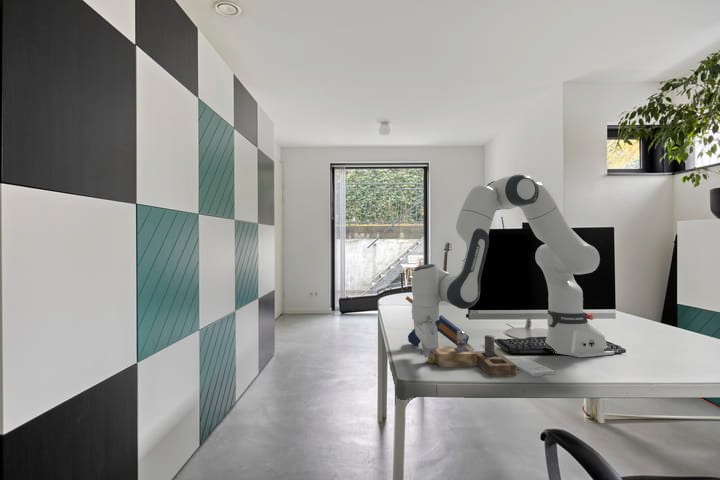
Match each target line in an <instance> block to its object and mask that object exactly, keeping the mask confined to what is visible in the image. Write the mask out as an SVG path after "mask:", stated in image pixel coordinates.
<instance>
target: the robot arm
mask: <svg viewBox="0 0 720 480" xmlns="http://www.w3.org/2000/svg"><path fill="white" fill-rule="evenodd" d="M514 208H519V209H520V210H521V211H522V212H523V215H524V217H525V219H526V220H527V223H528V224H529V227H530V228H531V230H532V232H533V234H534V236H535V237H536V238H537V239H538V240H540V241H541V242H542V243H544V244H541V245H540V246H539V247H537V250H536V251H535V262H536V264H537V265H538V267H540V269H541V271H542V272H543V275H544V278H545V282H546V285H547V292H548V309H547V319H546V321H547V332H546V339H545V342H546V343H547V344H548V345H549V346H551V347H552V348H553V349H554V350H555V351H556V352H555V353H556V354H560V355H565V356H571V357H576V358H591V357H599V356H602V357H603V356H611V355H615V350H613V351H604V349H606V348H607V347H608V346H607V341H606V340H607V339H606V337H605V334H604V333H602V332H601V331H600V330H598V329H597V328H596V327H594V325H592V324H591V323H590V322H589V321H588V320H590V321H593V320H594V319H595V317H594V314H591V313H586V312H584V307H583V306H584V303H583V302H584V295H583V294H584V293H583V289H582V288H581V286H580V285H579V284H578V283H577V281H576V280H575V277H574V275H585V274H590V273H593V272H594V271H596V270H597V269H598V267H599V265H600V262H601V261H600V260H601V258H600V253H599V251H598V250H597V248H595V246H593V245H591V244H589V243H588V242H586V241H585V240H583V239H582V238H581V237H580V236H579V235H578V234H577V233H576V232H575V231H574V230H573V228H571V226H570V225H569V223H568V222H567V221H566V219H565V216H564V215H563V213H562V212H561V209H560V208H559V206H558V204H557V202H556V200H555V198H554V197H553V195H552V194H551V193H550V191H549V190H548V189H547V187H546V186H545V185H544V184H543V183H542V182H539V181H535V180H534V179H533V178H532V177H531V176H530V175H526V174H514V175H509V176H505V177H501V178H499V179H497V180H494V181H491V182H489V183H488V184H487V185H486V184H485V185H484V184H482V185H481V184H480V185H476V186H474V187H472V189H471V190H470V191H469V193H468V194H467V196H466V198H465V200H464V202H463V204H462V207H461V208H460V211H459V214H458V217H457V221H456V225H455V229H456V232H457V234H458V236H459V237H460V238H461V239H462V240H463V242H465V245H466V252H465V255H464V260H463V263H462V267H461V271H460V272H459V273H458V274H455V273H451V272H447V271H445V270H443V269H442V268H439V267H438V266H437V265H436V264H433V263H427V264H422V265H418V266H416V267H414V270H413V271H412V278H411V293H412V300H413V302H412V304H411V318H412V320H413V326H414V328H413V329H415V334H416V336H417V337H418V338H419V340H420V341H421V342H420V344H421V345H420V346H421V351H422V355H423V357H424V358H428V357H429V356H430V352H431V351H433V350H436V349H438V347H439V331H437V326H436V324H435V321H437V320H439V317H440V302H444V303H446V304H450V305H452V306H454V307H456V308H458V309H461V310H466V309H469V308H472V307H473V306H475V305H476V304H477V302H478V301H479V299H480V295H481V279H482V278H481V277H482V273H483V270H484V265H485V261H486V258H487V253H488V249H489V245H490V244H489V243H490V236H489V233H490V229H491V225H492V222H493V221H494V217H495V213H496V212H497V211H500V210H511V209H514Z"/></svg>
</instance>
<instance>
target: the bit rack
mask: <svg viewBox="0 0 720 480" xmlns="http://www.w3.org/2000/svg"><path fill="white" fill-rule="evenodd" d="M473 351H474V350H473ZM474 352H475V353H476V354H477V366H479V367H480V368H481V369H482V370H483V371H484V372H485V373H486V374H488V376H489V377H493V376H495V377H496V376H499V377H500V376H502V377H503V376H517V368H516V365H515V364H514V363H513V362H511V361H510V359H508V358H507V357H506V356H505V355H503V354H502V353H501V352H499V351H498V350H495V336H494V335H489V334H486V335H484V350H481V351H479V350H477V351H474Z"/></svg>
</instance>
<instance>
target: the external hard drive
mask: <svg viewBox="0 0 720 480" xmlns="http://www.w3.org/2000/svg"><path fill="white" fill-rule="evenodd" d="M509 360H510V359H509ZM510 361H511V362H513V363H514V364H515V365H516V370H519V371H520V372H523V373H525V374H528V375H529V376H531V377H539V376H541V377H542V376H548V375H556V373H557V371H556V370H554V369H551V368H549V367H548V366H545V365H542V364H540V363H538V362H536V361H533V360H531V359H529V358H522V359H512V360H510Z"/></svg>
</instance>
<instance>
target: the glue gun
mask: <svg viewBox="0 0 720 480" xmlns="http://www.w3.org/2000/svg"><path fill="white" fill-rule="evenodd" d="M405 300H406V301H407V302H409V303H410V304H411V305H412V302H413V298H411V297H410V296H408V295H407V296H406V298H405ZM435 324H436V326H437V331H438V333H440V334H442V335H443V336H444V337H445V338H447V339H448V340H449V341H450V342H451V343H453V344H454V345H455V346H457V331H462V329H460V328H459V327H458V326H456V325H455V324H454V323H453V322H451V321H450V320H448V319H447V318H446V317H445V316H443V315H442V314H439V320H437V321H435ZM407 340H408V342H409V343H410V344H411V345H412V346H414V347H415V346H417V347H418V346H419V345H420V344H421V341H420V340H419V338H418V337H417V336H416V334H415V329H414V328H413V329H412V330H411V331H410V332H409V334H408V335H407ZM469 340H470V337H469V335H468V334H467V333H466V346H468V347H469V348H471V349H472V350H473V351H474V348H473V347H472V346H471V345H470V343H469V342H468V341H469Z"/></svg>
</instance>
